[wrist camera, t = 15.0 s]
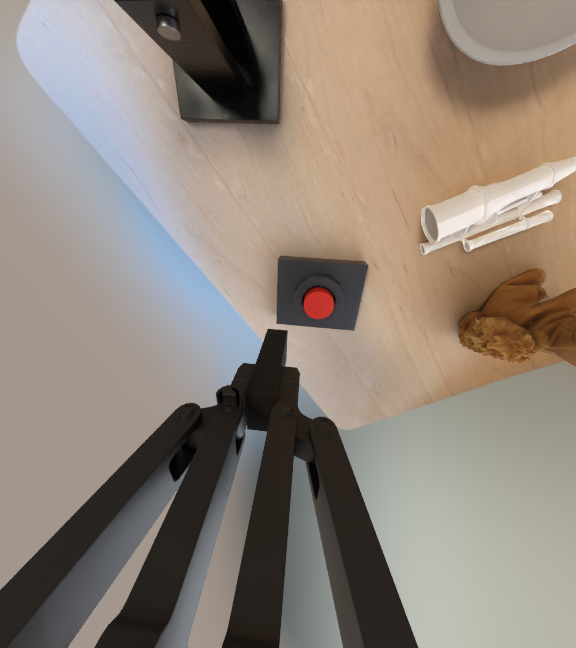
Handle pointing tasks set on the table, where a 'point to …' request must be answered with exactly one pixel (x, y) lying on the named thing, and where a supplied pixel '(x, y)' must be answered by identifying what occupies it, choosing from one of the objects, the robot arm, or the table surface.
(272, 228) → the table surface
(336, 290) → the button box
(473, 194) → the white telescope
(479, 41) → the dish
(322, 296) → the button
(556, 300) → the stuffed squirrel
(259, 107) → the bracket
